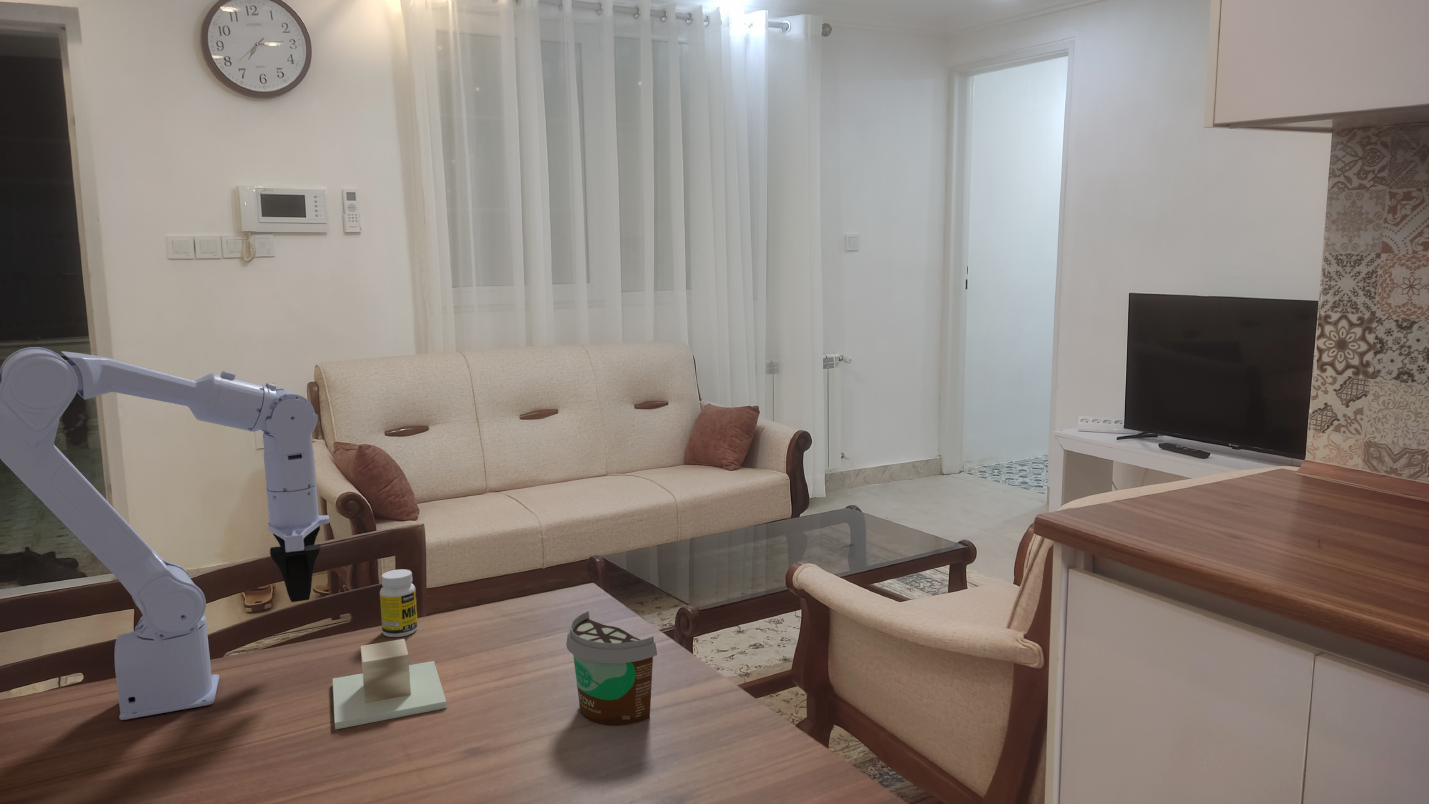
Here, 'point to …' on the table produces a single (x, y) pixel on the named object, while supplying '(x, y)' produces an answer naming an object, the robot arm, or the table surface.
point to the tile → (356, 710)
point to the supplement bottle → (398, 603)
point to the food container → (611, 672)
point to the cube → (385, 670)
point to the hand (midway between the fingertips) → (300, 590)
